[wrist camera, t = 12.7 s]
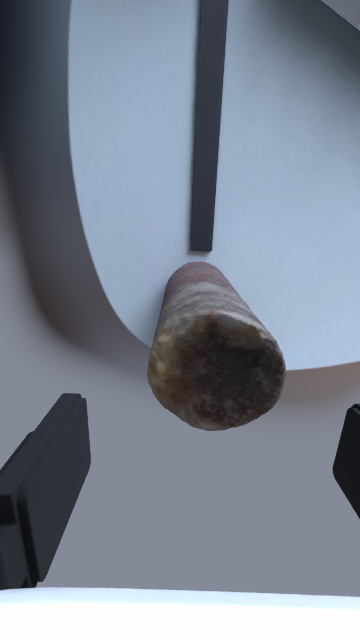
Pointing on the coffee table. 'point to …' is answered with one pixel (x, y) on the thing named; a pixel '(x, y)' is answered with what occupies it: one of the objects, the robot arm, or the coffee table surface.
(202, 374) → the brown weathered cylinder
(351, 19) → the white flat lidded device
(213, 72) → the strip
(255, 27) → the coffee table surface
